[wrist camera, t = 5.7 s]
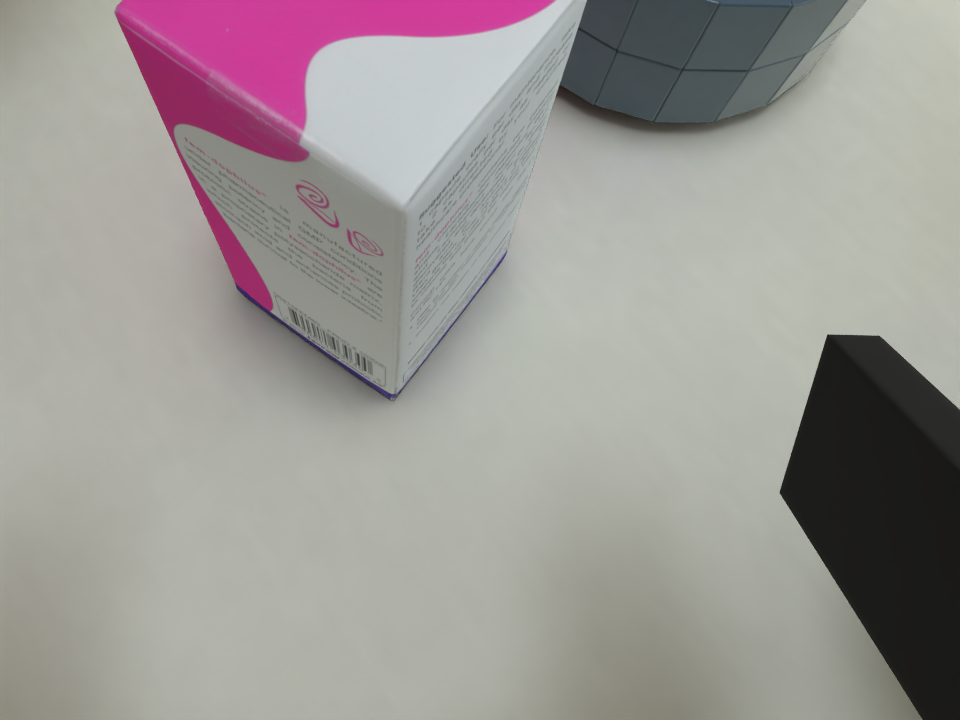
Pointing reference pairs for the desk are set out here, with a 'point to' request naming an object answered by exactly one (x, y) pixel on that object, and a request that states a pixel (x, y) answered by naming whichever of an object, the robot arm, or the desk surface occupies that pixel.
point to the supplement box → (357, 152)
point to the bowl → (698, 54)
